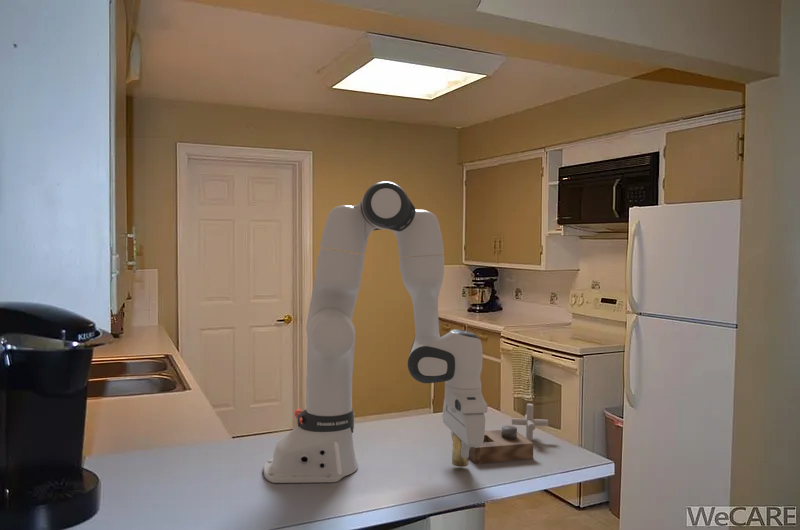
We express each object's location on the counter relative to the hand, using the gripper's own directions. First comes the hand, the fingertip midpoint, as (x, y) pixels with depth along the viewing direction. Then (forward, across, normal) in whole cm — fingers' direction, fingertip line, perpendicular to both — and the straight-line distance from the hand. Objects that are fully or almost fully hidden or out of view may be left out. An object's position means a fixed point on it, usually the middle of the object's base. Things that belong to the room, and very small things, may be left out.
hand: (460, 453), depth 147 cm
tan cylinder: (+3, 0, 0) cm, 3 cm away
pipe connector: (+3, -17, +27) cm, 32 cm away
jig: (+4, -8, +13) cm, 16 cm away
